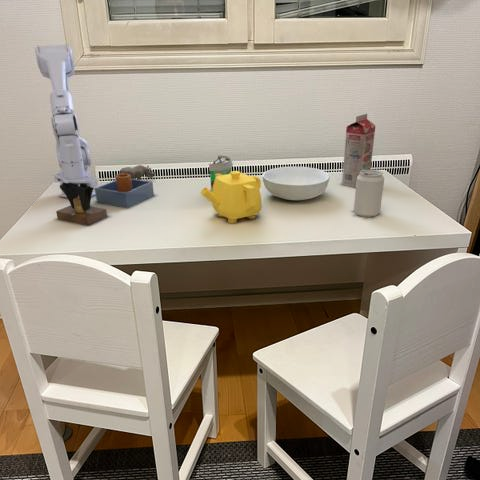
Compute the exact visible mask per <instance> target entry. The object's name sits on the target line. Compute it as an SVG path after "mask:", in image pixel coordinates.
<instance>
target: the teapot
mask: <svg viewBox="0 0 480 480" xmlns="http://www.w3.org/2000/svg"><path fill="white" fill-rule="evenodd" d="M215 175H216V178H215V181H214V185H213V189H212V192H211V189H210V188H208V187H206V186H205V187H203V188H202V189H201V191H200V195H201V196H203V197H204V198H205V199H206V200H208V201H209V202H210V203H211V206H212V208H213V210H214V211H215V212H216V213H217V217H221V218H223V217H225V218H227V222H228V224H229V223H230V224H235V223H237V222H238V219H242V218H247V219H252V220H253V219H255V218H256V215H258V214H260V212H261V209H262V196H261V190H260V189H261V186H262V181H261V179H260V178H259V177H258V176H256V175H249V174H247V173H246V174H245V173H242V172H241V171H239V170H233V171H232V170H231V172H230V174H227V175H222V174H215Z"/></svg>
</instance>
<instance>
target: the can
mask: <svg viewBox="0 0 480 480" xmlns="http://www.w3.org/2000/svg"><path fill="white" fill-rule="evenodd" d="M384 185H385V177H384V176H383V172H382V171H380V170H377V169H371V170H362V171H360V174H359V175H358V176H357V180H356V187H355V190H354V201H353V212H354V213H355V214H356V215H357V216H359V217H362V218H373V217H376V216H377V215H379V214H380V213H381V208H382V199H383V192H384Z"/></svg>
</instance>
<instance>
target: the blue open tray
mask: <svg viewBox="0 0 480 480" xmlns="http://www.w3.org/2000/svg"><path fill="white" fill-rule="evenodd" d="M131 182H132V190H130V191H128V192H119V191H117V185H116V179H115V180H113V181H110V182H107V183H105V184H102V185H100V186H99V185H98V186H97V187H94V192H95V193H96V195H95V199H96V203H97V204H103V205H108V206H116V207H119V208H125V209H126V208H127V209H129V208H130V207H133V206H135V205H138V204H140V203H142V202H144V201H146V200H148V199H150V198H153V197H155V192H154V182H153V181H151V180H142V179H140V180H137V178H135V179H131Z"/></svg>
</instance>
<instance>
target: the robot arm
mask: <svg viewBox="0 0 480 480" xmlns="http://www.w3.org/2000/svg"><path fill="white" fill-rule="evenodd" d="M34 54H35V58H36V64H37V66H38V69H39V71H40V74H41V75H42V77H43V78H47V79H49V80H50V83H51V87H52V92H50V94H49V102H50V108H51V114H52V115H51V117H50V122H51V129H52V132H53V135H54V139H55V142H56V144H55V149H56V150H55V151H56V157H57V162H58V166H59V168H60V170H59V171H58V173H56V174H53V178H54V181H55V182H57V183H58V182H59V189H60V190H61V194H60V197H61V198H67V200H68V203H69V204H70V205H71V206H72V208H73V209H75V208H74V203H73V199H75V198H80V201H81V206H82V209H83V211H87V210H89V209H90V206H91V200H92V197H93V196H96V193H95V188H97V187H99V183H98V182H99V181H98V179H97V178H95V177H92V176H90V172H89V167H90V166H91V165H92V161H91V155H90V148H89V145H88V141H87V140H86V139H84V138H83V137H81V136H80V128H79V121H78V116H77V114H76V111H75V107H74V101H73V96H72V94H71V93H70V89H69V80H70V78H71V77H74V76H75V72H76V71H75V70H76V69H75V62H74V56H73V55H74V54H73V50H72V46H71V45H70V44H69V43H68V44H60V45H56V44H55V45H36V46H35V47H34Z"/></svg>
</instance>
